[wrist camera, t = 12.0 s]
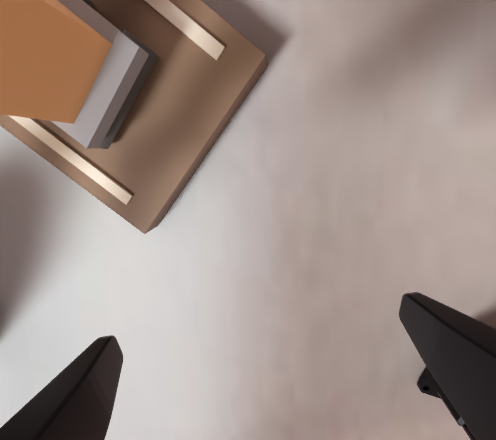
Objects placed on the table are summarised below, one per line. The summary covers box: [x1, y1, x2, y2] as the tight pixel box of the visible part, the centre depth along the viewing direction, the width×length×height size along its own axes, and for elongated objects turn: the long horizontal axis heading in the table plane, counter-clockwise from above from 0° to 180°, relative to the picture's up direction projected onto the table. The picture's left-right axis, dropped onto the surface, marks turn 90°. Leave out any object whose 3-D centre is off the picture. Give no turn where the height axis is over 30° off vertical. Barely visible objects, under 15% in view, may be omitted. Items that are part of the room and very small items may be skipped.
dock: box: [0, 0, 268, 234], centre depth 17 cm, size 16×14×2 cm
